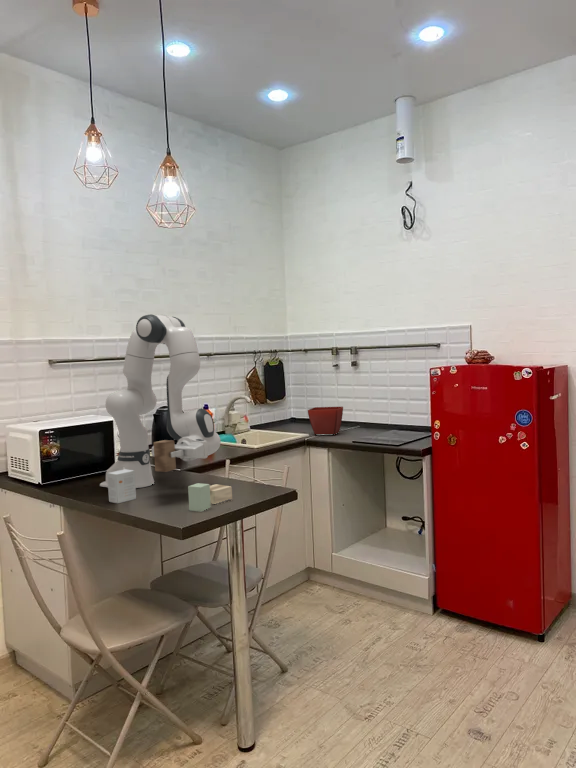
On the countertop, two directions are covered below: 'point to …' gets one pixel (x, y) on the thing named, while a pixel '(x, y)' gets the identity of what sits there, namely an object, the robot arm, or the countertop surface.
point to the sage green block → (199, 497)
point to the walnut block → (164, 456)
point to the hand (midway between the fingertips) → (163, 454)
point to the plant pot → (325, 419)
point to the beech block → (220, 493)
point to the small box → (121, 486)
